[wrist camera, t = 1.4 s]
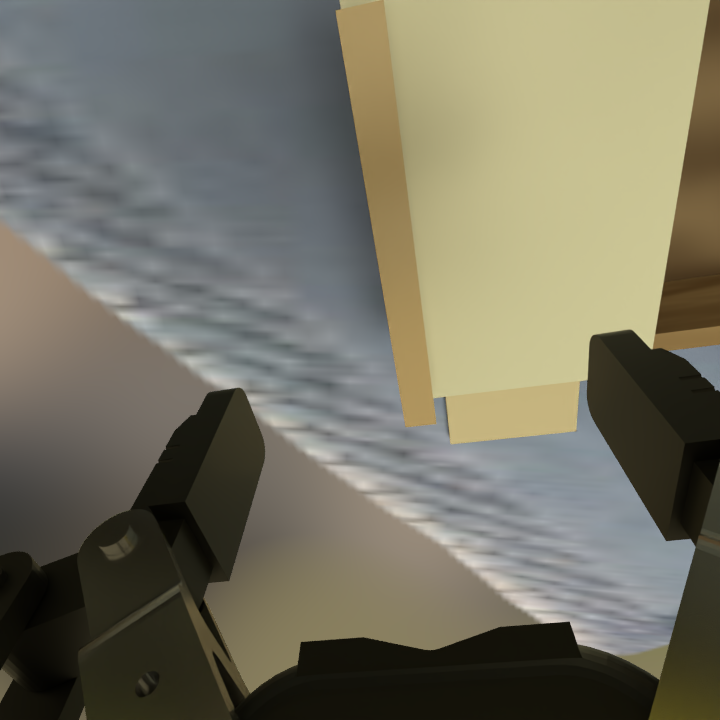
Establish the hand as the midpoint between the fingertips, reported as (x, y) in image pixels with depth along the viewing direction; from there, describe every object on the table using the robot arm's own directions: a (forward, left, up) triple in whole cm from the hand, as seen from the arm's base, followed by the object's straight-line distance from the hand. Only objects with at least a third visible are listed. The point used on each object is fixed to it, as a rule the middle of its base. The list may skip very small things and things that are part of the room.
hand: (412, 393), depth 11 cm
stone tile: (+16, +7, -22) cm, 28 cm away
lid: (+1, +6, -14) cm, 15 cm away
